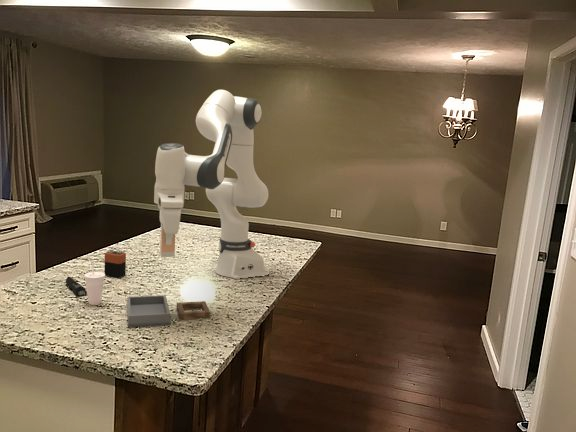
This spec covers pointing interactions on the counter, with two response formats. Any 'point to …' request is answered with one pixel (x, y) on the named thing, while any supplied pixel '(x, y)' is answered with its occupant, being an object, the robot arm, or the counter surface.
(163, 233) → the block
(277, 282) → the counter surface
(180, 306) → the frame
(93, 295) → the smoothie
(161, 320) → the tray
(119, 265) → the battery
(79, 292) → the electric trimmer
